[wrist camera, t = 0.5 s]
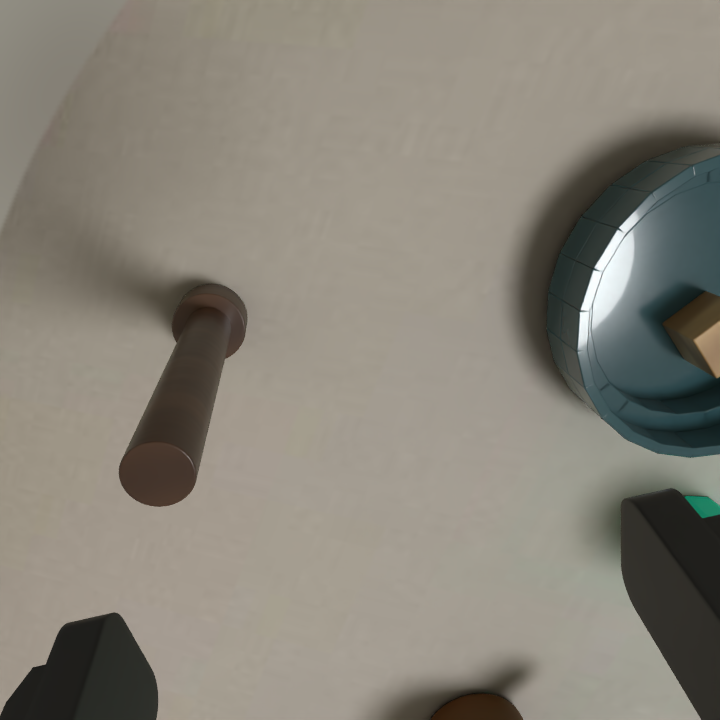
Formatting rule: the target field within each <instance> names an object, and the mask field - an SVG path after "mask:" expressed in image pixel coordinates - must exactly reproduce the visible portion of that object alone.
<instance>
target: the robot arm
mask: <svg viewBox="0 0 720 720" xmlns="http://www.w3.org/2000/svg"><path fill="white" fill-rule="evenodd" d="M621 569H622V575H623V580H624V584H625V587H626V590H627V593H628V595H629V598H630V600H631V602H632V604H633V606H634V608H635V610H636V611H637V613H638V615H639V616H640V618H641V620H642V621H643V623H644V625H645V626H646V628H647V630H648V631H649V633H650V635H651V636H652V638H653V640H654V641H655V643H656V645H657V646H658V648H659V650H660V651H661V653H662V655H663V656H664V658H665V660H666V661H667V663H668V665H669V666H670V668H671V670H672V671H673V673H674V675H675V676H676V678H677V680H678V681H679V683H680V685H681V686H682V688H683V690H684V691H685V693H686V695H687V696H688V698H689V700H690V701H691V703H692V705H693V706H694V708H695V710H696V711H697V713H698V715H699V716H700V718H701V720H720V515H715V516H711V517H706V518H702V517H701V516H700V515H699V514H698V513H697V511H696V510H695V509H694V508H693V507H692V506H691V504H690V503H689V502H688V501H687V500H686V499H685V497H684V496H683V495H682V494H681V493H680V492H679V491H677V490H675V489H673V488H670V489H666V490H661V491H657V492H652V493H648V494H644V495H639V496H635V497H630V498H626V499H624V500H623V501H622V503H621ZM157 711H158V690H157V683H156V679H155V676H154V673H153V671H152V669H151V667H150V665H149V663H148V662H147V660H146V658H145V656H144V655H143V653H142V651H141V649H140V648H139V646H138V644H137V642H136V641H135V639H134V637H133V635H132V633H131V632H130V630H129V628H128V626H127V625H126V623H125V621H124V620H123V618H122V617H121V616H120V615H119V614H118V613H110V614H105V615H101V616H96V617H92V618H88V619H83V620H79V621H74V622H70V623H67V624H65V625H64V626H63V627H62V628H61V629H60V631H59V633H58V635H57V637H56V640H55V642H54V645H53V647H52V650H51V652H50V655H49V658H48V660H47V663H46V665H42V666H37V667H33V668H32V670H31V671H30V672H29V673H28V675H27V676H26V677H25V679H24V680H23V681H22V683H21V684H20V685H19V686H18V688H17V689H16V690H15V692H14V693H13V694H12V696H11V697H10V698H9V699H8V701H7V702H6V704H5V706H4V708H3V711H2V713H1V715H0V720H156V717H157Z"/></svg>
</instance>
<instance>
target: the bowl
mask: <svg viewBox="0 0 720 720" xmlns="http://www.w3.org/2000/svg"><path fill="white" fill-rule="evenodd" d="M548 291H549V292H548V306H547V333H548V338H549V342H550V346H551V350H552V355H553V359H554V361H555V364H556V366H557V367H558V369H559V371H560V372H561V374H562V376H563V378H564V379H565V381H566V383H567V384H568V386H569V388H570V389H571V390H572V391H573V392H574V393H575V394H576V395H577V396H578V397H579V398H580V399H581V400H582V401H584V402H585V403H586V404H587V405H588V406H589V407H590V408H591V409H592V410H593V411H594V412H596V413H597V414H598V415H599V416H600V417H601V418H602V419H603V420H604V421H605V422H607V423H608V424H609V425H610V426H611V427H612V428H613V429H614V430H616V431H617V432H618V433H619V434H620V435H621V436H622V437H623V438H625V439H626V440H628V441H630V442H632V443H635V444H637V445H639V446H642V447H644V448H646V449H648V450H651V451H653V452H655V453H659V454H667V455H674V456H682V457H690V458H691V457H700V456H708V455H716V454H720V377H719V378H715V377H713V376H711V375H710V374H708V373H706V372H705V371H703V370H701V369H700V368H698V367H696V366H694V365H693V364H691V363H689V362H688V361H686V360H684V358H683V357H682V355H681V353H680V352H679V350H678V349H677V347H676V346H675V344H674V342H673V341H672V339H671V338H670V336H669V334H668V333H667V331H666V330H665V328H664V326H663V325H662V323H663V322H664V321H666V320H667V319H669V318H670V317H671V316H673V315H674V314H675V313H677V312H678V311H679V310H681V309H682V308H683V307H685V306H686V305H687V304H689V303H690V302H691V301H693V300H694V299H695V298H697V297H698V296H699V295H701V294H702V293H703V292H705V291H707V292H710V293H712V294H715V295H717V296H720V144H707V145H694V146H687V147H682V148H680V149H677V150H674V151H671V152H669V153H666V154H663V155H660V156H658V157H655V158H652V159H649V160H648V161H645V162H644V163H642V164H641V165H639V166H638V167H636V168H635V169H633V170H632V171H630V172H629V173H627V174H626V175H624V176H623V177H621V178H620V179H618V180H617V181H615V182H614V183H613V184H612V185H610V186H609V187H608V188H607V189H606V190H605V191H604V192H603V193H602V195H601V196H600V197H599V198H598V199H597V200H596V201H595V202H594V203H593V204H592V205H591V206H590V207H589V209H588V210H587V211H586V212H585V213H584V214H583V215H582V217H580V219H579V220H578V222H577V224H576V226H575V227H574V229H573V231H572V233H571V234H570V236H569V238H568V239H567V241H566V243H565V245H564V246H563V248H562V250H561V251H560V254H559V257H558V260H557V263H556V267H555V270H554V273H553V276H552V280H551V283H550V286H549V290H548Z"/></svg>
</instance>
